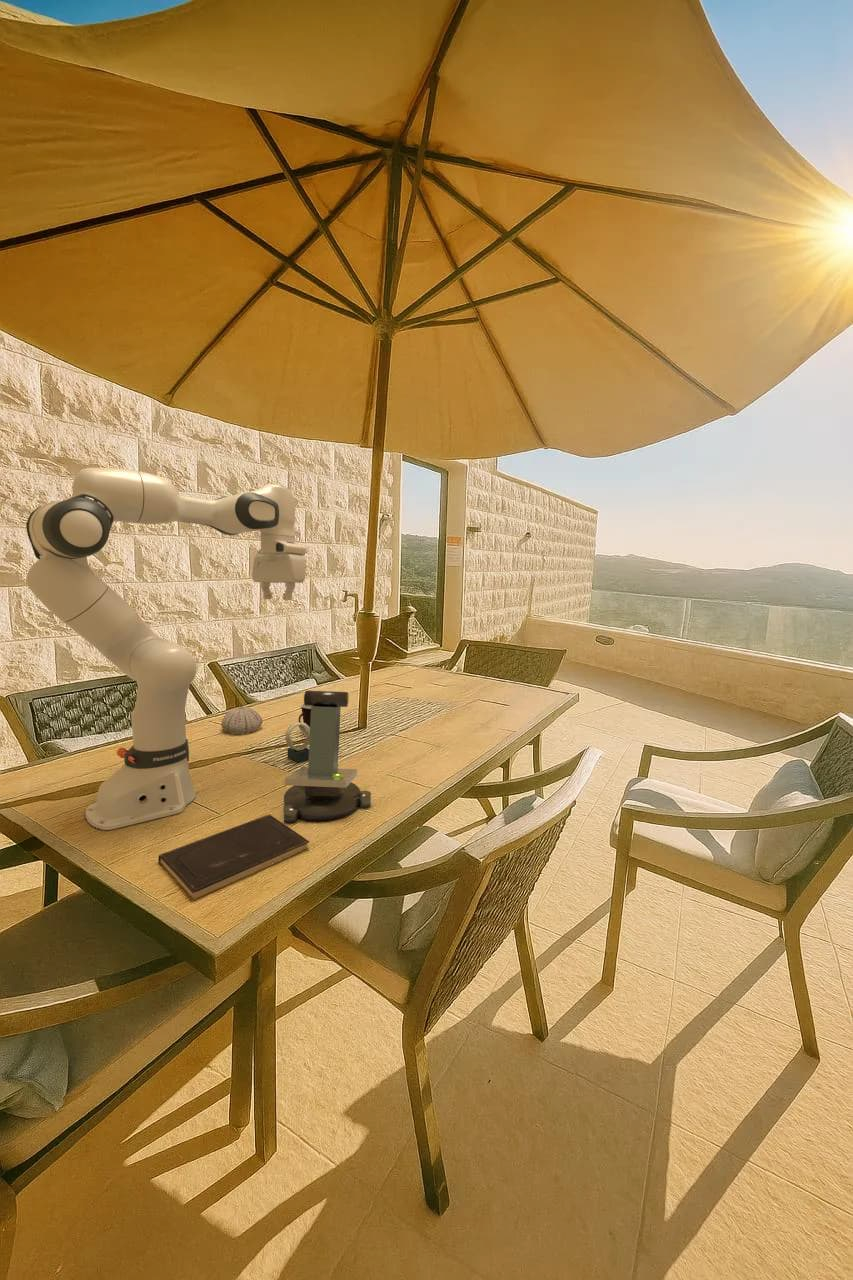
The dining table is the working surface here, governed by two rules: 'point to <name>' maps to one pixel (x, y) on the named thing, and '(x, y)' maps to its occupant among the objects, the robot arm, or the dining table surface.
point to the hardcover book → (231, 854)
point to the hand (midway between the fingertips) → (277, 599)
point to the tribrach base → (323, 803)
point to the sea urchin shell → (241, 720)
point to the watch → (300, 751)
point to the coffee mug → (305, 714)
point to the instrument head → (323, 743)
